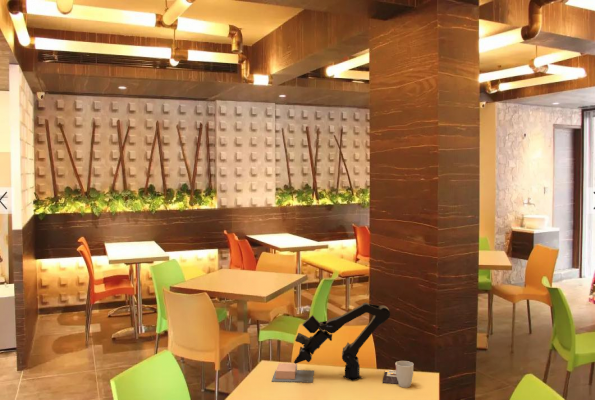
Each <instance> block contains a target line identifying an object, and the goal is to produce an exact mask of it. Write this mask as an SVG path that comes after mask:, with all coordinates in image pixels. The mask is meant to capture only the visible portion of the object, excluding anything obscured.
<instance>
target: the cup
mask: <svg viewBox="0 0 595 400" xmlns="http://www.w3.org/2000/svg"><path fill="white" fill-rule="evenodd" d="M395 370H396V376H397V381H398V384H397V385H398V387H400V388H410V387H411V385H412V381H413V376H414V362H412V361H408V360H399V361H396V362H395Z"/></svg>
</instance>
